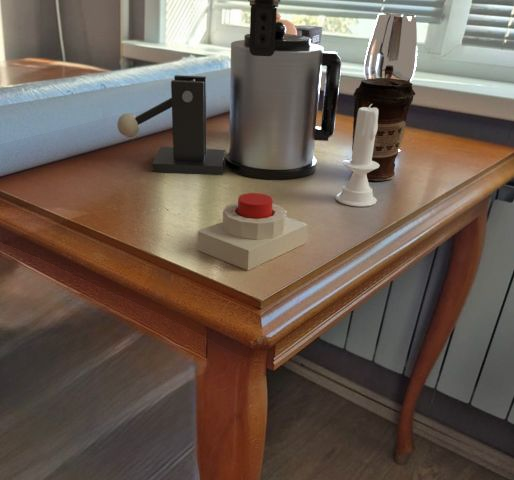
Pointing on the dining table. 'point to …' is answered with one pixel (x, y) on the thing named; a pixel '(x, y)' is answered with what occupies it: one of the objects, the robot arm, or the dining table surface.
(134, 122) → the lever switch
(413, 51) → the wineglass
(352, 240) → the dining table surface
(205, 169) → the switch bracket
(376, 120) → the candle
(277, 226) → the power block
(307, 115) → the kettle
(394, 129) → the coffee cup
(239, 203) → the power button
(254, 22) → the robot arm
